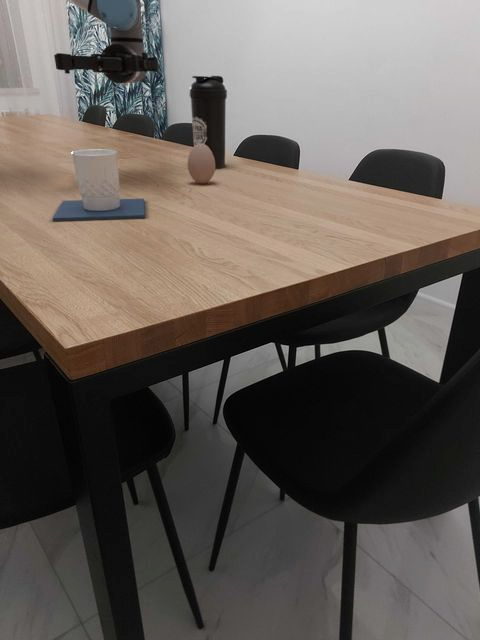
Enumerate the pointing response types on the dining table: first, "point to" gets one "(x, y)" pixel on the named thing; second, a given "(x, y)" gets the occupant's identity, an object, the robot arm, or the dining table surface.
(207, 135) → the water bottle
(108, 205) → the white cup
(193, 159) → the egg
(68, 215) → the glassware mat
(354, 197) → the dining table surface
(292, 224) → the dining table surface
